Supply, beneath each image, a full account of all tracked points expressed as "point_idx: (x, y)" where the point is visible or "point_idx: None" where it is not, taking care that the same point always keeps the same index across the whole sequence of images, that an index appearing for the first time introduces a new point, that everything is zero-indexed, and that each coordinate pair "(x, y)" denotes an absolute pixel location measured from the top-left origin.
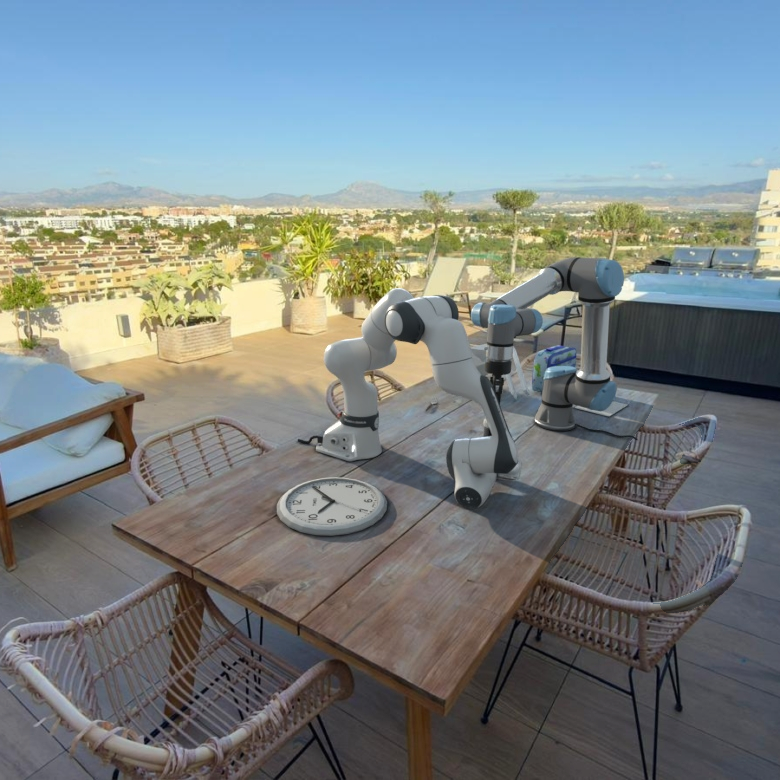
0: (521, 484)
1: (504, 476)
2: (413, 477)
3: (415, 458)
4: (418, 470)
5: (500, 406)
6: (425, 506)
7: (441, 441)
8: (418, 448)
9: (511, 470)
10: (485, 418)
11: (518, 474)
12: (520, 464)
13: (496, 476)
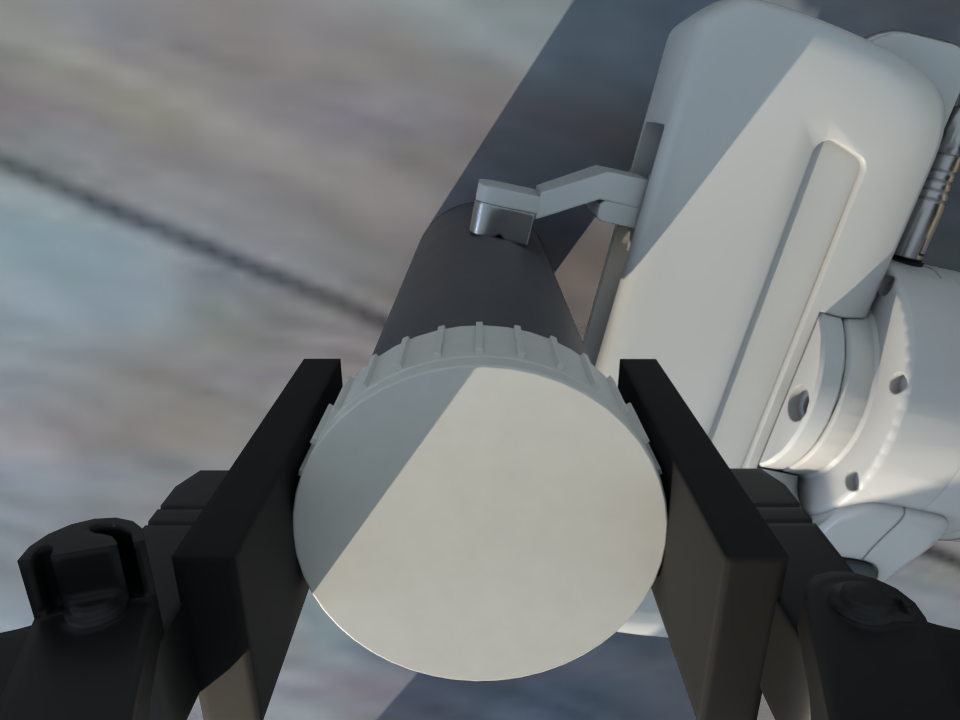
0: (610, 4)
1: (948, 195)
2: (610, 693)
3: (350, 710)
4: (513, 680)
5: (61, 561)
6: (951, 608)
7: (11, 601)
8: (194, 711)
9: (942, 130)
10: (432, 660)
11: (913, 48)
12: (794, 16)
13: (935, 268)
